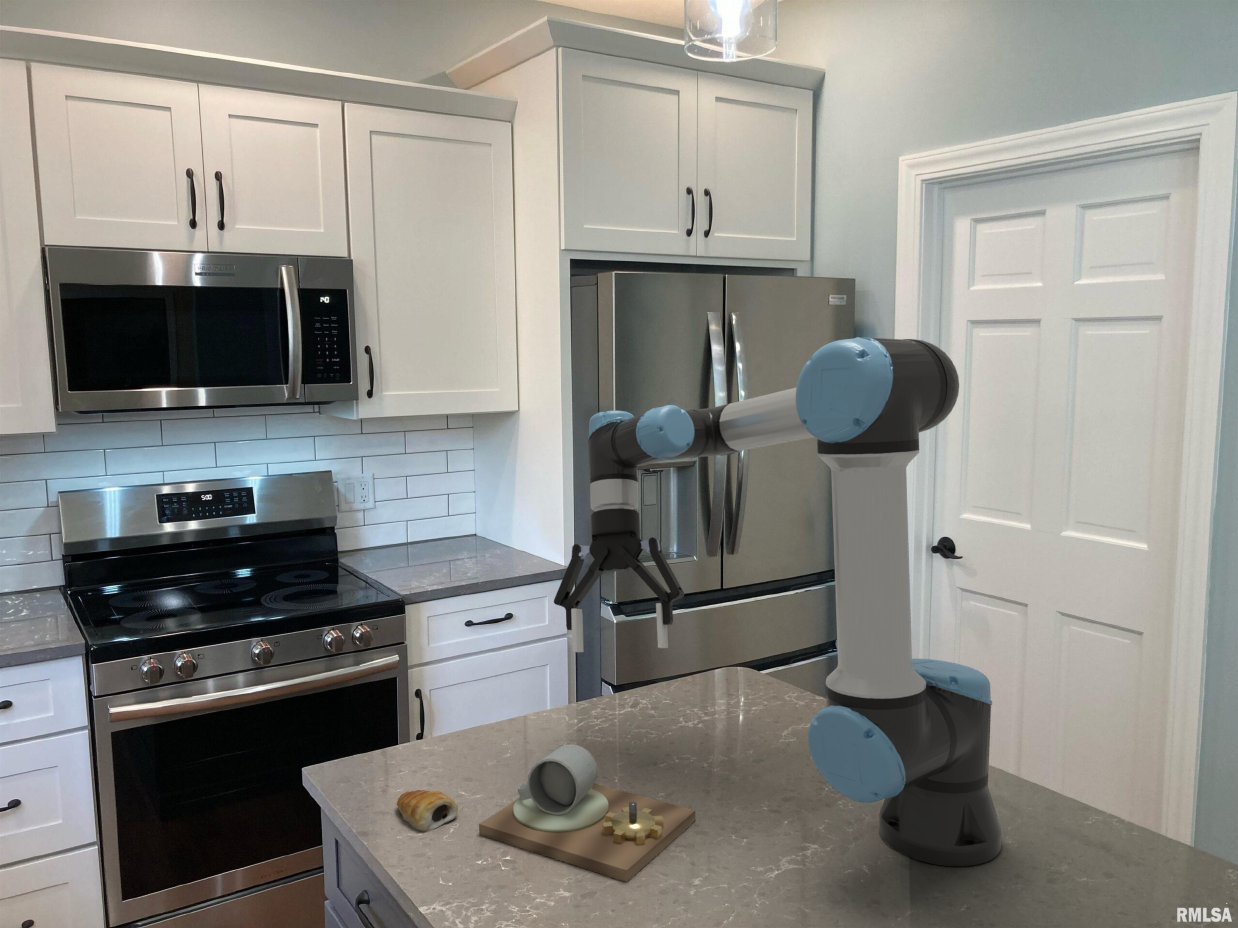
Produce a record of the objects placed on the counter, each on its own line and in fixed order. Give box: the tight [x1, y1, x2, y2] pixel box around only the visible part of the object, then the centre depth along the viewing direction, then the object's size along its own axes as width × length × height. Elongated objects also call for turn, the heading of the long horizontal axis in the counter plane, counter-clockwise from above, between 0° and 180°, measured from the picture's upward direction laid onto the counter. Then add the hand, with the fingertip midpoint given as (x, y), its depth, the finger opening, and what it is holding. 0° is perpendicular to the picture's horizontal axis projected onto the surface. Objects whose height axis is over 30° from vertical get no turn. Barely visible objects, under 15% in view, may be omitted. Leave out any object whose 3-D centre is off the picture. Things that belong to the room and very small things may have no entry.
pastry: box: [396, 789, 459, 832], centre depth 132 cm, size 9×7×4 cm
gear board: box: [478, 783, 696, 883], centre depth 128 cm, size 23×18×2 cm
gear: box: [602, 802, 664, 845], centre depth 124 cm, size 8×8×4 cm
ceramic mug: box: [517, 744, 598, 815], centre depth 131 cm, size 11×8×8 cm
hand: (619, 650), depth 143 cm, fingers open, 13 cm apart
